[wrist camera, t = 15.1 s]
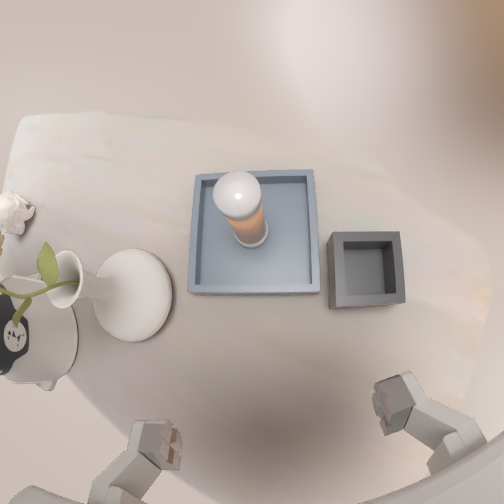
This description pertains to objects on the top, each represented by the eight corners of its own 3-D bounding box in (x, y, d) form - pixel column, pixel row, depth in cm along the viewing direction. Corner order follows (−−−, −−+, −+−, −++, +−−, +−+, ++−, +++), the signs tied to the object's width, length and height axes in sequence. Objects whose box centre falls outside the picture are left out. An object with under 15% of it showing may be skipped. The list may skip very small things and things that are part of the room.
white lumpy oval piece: (-11, 228, 30) (-20, 200, 33) (25, 245, 38) (9, 216, 42) (7, 194, 31) (-4, 171, 34) (41, 214, 39) (24, 190, 42)
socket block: (329, 308, 31) (336, 306, 26) (326, 243, 32) (332, 231, 28) (390, 305, 30) (405, 302, 25) (386, 242, 32) (399, 231, 27)
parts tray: (194, 293, 33) (187, 291, 30) (201, 184, 36) (195, 175, 34) (317, 293, 31) (320, 291, 29) (311, 179, 34) (312, 169, 32)
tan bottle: (235, 249, 33) (211, 214, 22) (236, 217, 34) (214, 172, 23) (268, 248, 32) (260, 213, 22) (268, 216, 33) (260, 169, 23)
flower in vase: (148, 234, 35) (0, 124, 11) (195, 308, 32) (14, 267, 8) (81, 291, 35) (-74, 248, 10) (118, 363, 32) (-56, 383, 8)
